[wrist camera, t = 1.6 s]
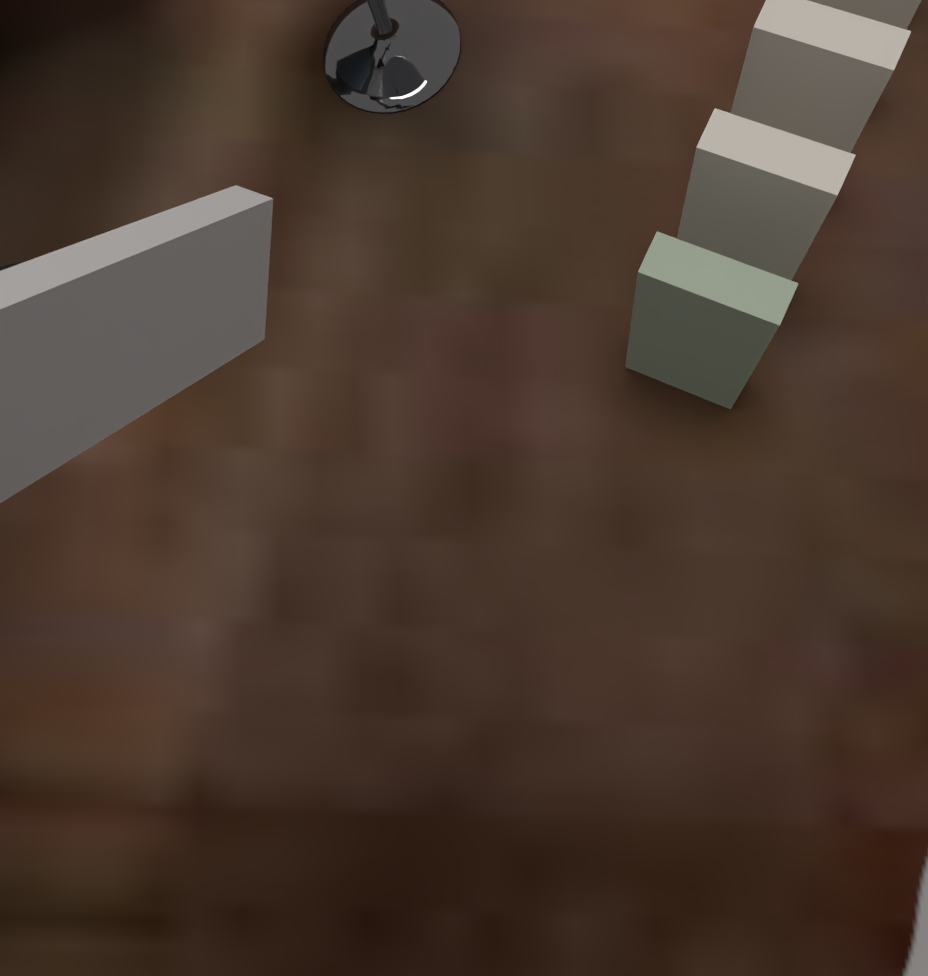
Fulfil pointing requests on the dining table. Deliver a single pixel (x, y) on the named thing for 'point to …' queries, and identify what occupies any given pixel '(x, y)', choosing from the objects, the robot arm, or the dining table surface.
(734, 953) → the dining table surface
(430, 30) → the wine glass
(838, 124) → the domino
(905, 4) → the domino
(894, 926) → the dining table surface
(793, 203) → the domino
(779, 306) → the domino
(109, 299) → the robot arm
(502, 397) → the dining table surface
